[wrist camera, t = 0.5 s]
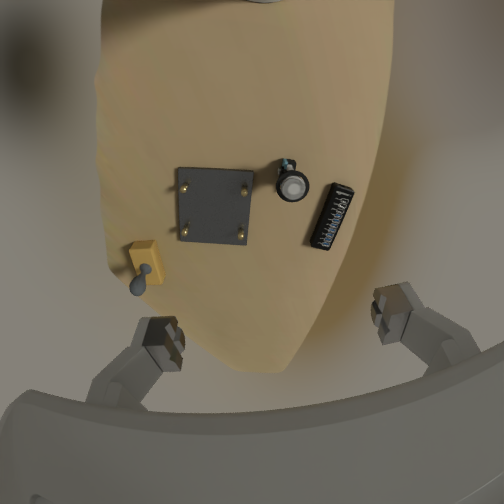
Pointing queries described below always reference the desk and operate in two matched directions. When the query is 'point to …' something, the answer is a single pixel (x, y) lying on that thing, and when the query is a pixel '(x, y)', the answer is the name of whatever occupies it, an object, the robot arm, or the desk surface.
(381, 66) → the desk surface
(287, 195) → the push button
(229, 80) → the desk surface
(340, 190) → the multiport hub
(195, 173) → the chassis
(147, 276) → the rubber stamp
